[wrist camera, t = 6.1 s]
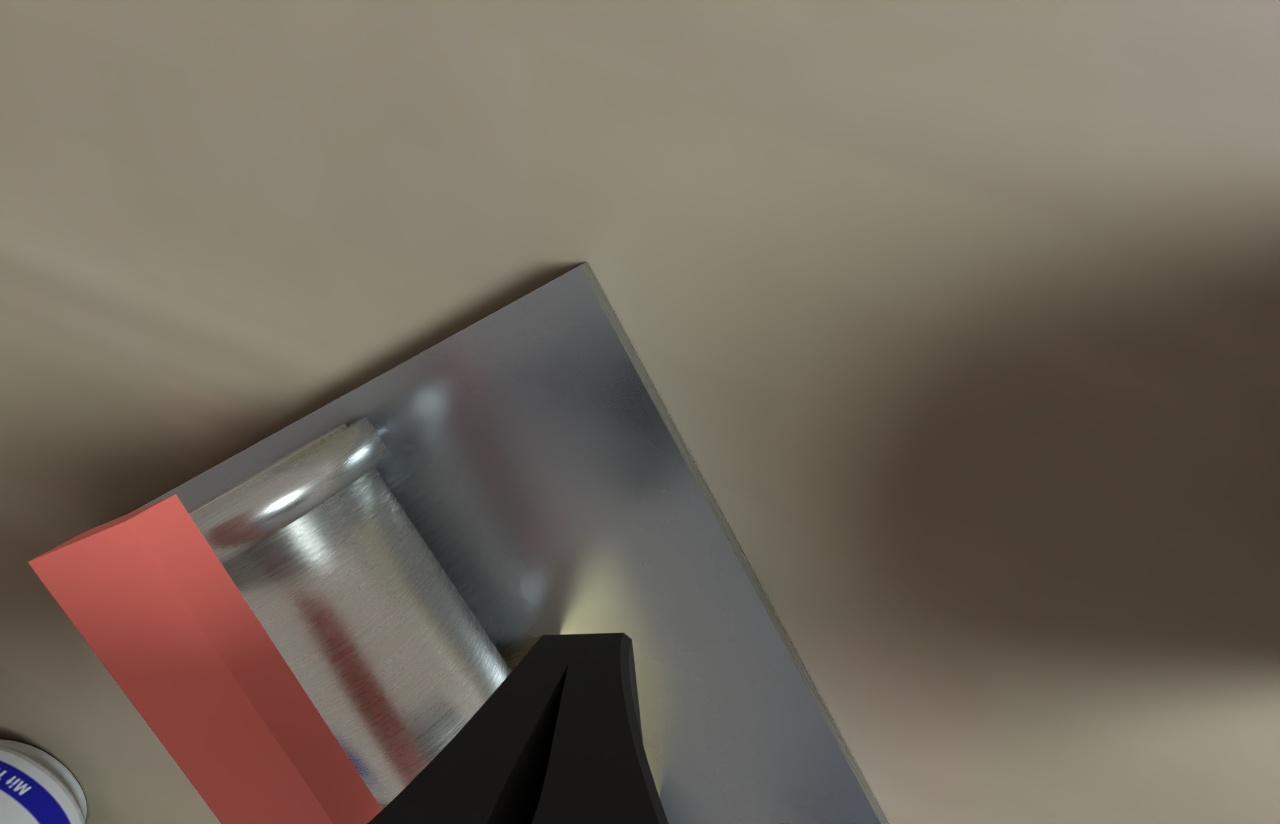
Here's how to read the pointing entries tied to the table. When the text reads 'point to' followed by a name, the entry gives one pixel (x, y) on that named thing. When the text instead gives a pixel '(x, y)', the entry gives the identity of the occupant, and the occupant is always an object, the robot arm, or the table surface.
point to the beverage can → (37, 788)
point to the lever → (203, 670)
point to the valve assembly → (522, 564)
